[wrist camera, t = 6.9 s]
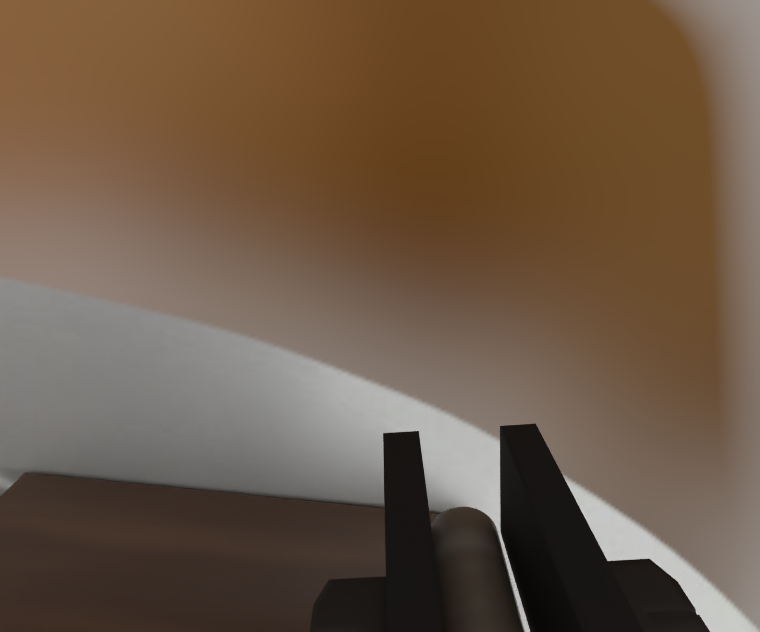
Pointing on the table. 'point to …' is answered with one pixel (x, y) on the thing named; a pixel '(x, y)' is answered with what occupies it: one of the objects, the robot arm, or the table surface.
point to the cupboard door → (216, 559)
